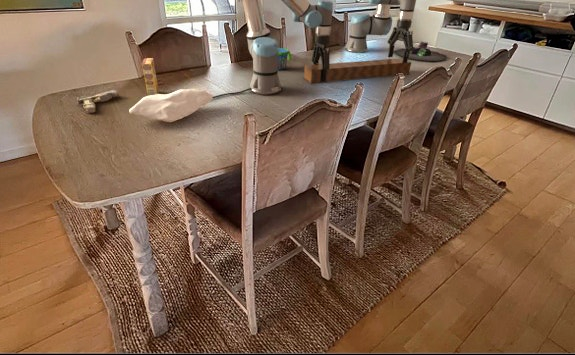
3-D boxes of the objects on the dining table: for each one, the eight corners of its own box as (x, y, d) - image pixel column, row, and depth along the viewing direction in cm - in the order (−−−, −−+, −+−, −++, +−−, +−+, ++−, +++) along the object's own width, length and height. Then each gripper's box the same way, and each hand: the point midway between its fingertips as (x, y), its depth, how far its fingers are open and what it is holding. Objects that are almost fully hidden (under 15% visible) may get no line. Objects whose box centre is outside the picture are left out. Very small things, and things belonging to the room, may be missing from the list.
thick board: (310, 83, 189) (311, 70, 186) (304, 78, 196) (304, 65, 193) (408, 74, 210) (411, 62, 206) (399, 69, 217) (401, 58, 213)
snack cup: (285, 64, 217) (285, 46, 212) (295, 68, 210) (296, 50, 204) (262, 67, 210) (262, 49, 204) (272, 72, 202) (272, 53, 197)
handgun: (128, 97, 156) (111, 87, 164) (86, 107, 144) (70, 97, 152) (129, 103, 157) (113, 94, 165) (88, 114, 146) (72, 103, 154)
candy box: (157, 97, 164) (152, 63, 155) (147, 98, 163) (141, 63, 155) (158, 91, 171) (153, 57, 163) (149, 91, 170) (143, 58, 162)
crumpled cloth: (117, 110, 146) (113, 90, 140) (195, 92, 166) (194, 73, 160) (143, 139, 134) (140, 118, 128) (223, 116, 154) (224, 96, 148)
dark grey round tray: (457, 57, 245) (460, 43, 240) (424, 63, 227) (427, 48, 223) (415, 49, 269) (417, 36, 265) (382, 54, 252) (384, 40, 247)
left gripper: (339, 38, 175) (334, 84, 188) (320, 29, 192) (316, 72, 204) (325, 39, 173) (321, 85, 185) (307, 30, 190) (304, 73, 202)
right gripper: (425, 23, 187) (416, 65, 198) (396, 16, 206) (389, 54, 218) (414, 23, 184) (405, 65, 195) (385, 16, 204) (379, 55, 215)
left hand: (319, 78), depth 195 cm, fingers closed on thick board, 9 cm apart
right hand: (397, 59), depth 207 cm, fingers open, 13 cm apart
